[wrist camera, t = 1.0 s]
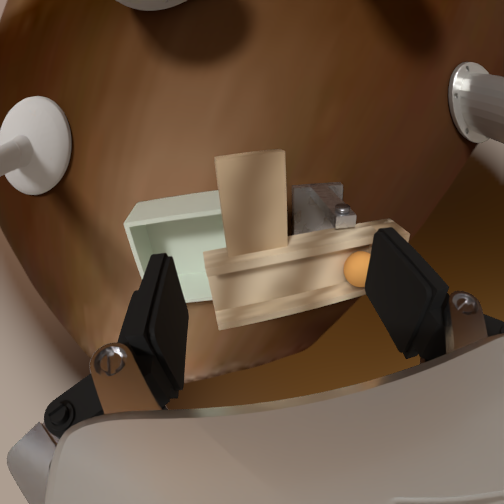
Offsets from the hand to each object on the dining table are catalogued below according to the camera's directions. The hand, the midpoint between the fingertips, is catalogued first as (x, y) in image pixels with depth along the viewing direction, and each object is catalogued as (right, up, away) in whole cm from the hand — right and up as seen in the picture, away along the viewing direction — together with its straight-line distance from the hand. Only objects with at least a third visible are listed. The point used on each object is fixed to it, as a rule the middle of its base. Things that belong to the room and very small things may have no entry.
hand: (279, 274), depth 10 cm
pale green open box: (-7, +3, +23) cm, 25 cm away
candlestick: (-28, +14, +14) cm, 34 cm away
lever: (+4, +3, +14) cm, 15 cm away
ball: (+10, -1, +15) cm, 18 cm away
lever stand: (+7, +4, +24) cm, 25 cm away
